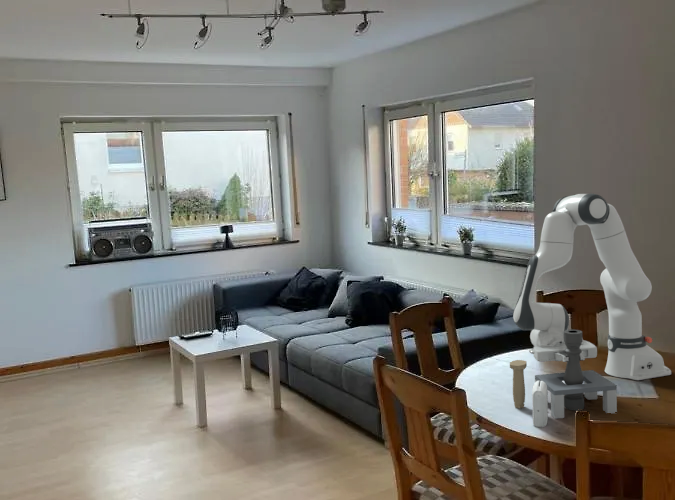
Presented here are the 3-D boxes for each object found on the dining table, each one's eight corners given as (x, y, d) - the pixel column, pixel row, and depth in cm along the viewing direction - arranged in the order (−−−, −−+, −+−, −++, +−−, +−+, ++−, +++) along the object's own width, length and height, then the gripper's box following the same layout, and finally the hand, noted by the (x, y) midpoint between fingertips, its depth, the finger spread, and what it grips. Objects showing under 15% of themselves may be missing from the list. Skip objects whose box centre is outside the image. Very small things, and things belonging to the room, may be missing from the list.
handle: (530, 405, 220) (529, 361, 218) (521, 411, 215) (520, 366, 213) (516, 402, 223) (515, 359, 221) (508, 408, 218) (506, 364, 216)
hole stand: (593, 395, 225) (592, 370, 224) (616, 413, 209) (616, 385, 208) (535, 401, 224) (534, 375, 223) (554, 418, 208) (554, 390, 207)
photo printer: (546, 428, 201) (546, 388, 200) (532, 427, 203) (531, 387, 201) (548, 415, 211) (547, 377, 209) (534, 414, 212) (533, 377, 211)
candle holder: (587, 409, 213) (586, 333, 210) (568, 410, 213) (566, 334, 210) (579, 402, 220) (578, 328, 217) (561, 404, 220) (559, 329, 216)
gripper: (527, 340, 226) (542, 351, 212) (585, 336, 228) (604, 346, 214) (527, 358, 227) (543, 370, 213) (585, 354, 228) (605, 365, 215)
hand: (574, 358), depth 214 cm, fingers closed on candle holder, 4 cm apart
